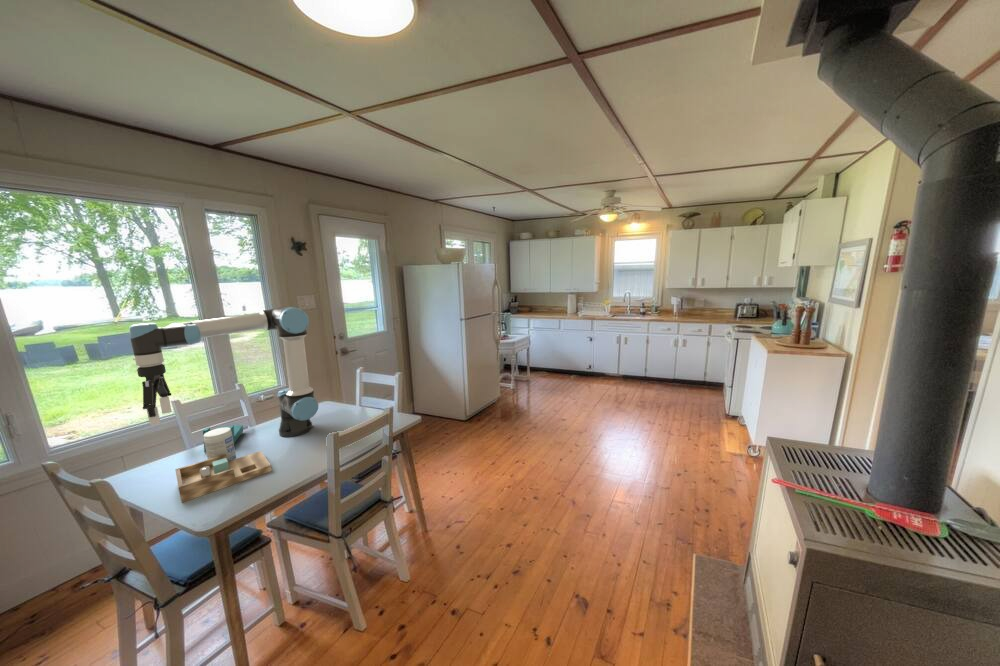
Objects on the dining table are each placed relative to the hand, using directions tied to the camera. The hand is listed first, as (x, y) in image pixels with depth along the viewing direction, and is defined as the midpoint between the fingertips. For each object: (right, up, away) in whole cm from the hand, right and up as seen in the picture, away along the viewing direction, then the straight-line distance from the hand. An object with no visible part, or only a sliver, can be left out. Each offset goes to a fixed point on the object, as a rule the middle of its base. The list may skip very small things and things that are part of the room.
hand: (161, 418), depth 137 cm
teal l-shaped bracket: (-5, -21, +38) cm, 44 cm away
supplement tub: (+10, -24, +17) cm, 31 cm away
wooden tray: (+20, -25, +6) cm, 33 cm away
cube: (+19, -23, +5) cm, 30 cm away
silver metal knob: (+19, -24, -2) cm, 31 cm away
